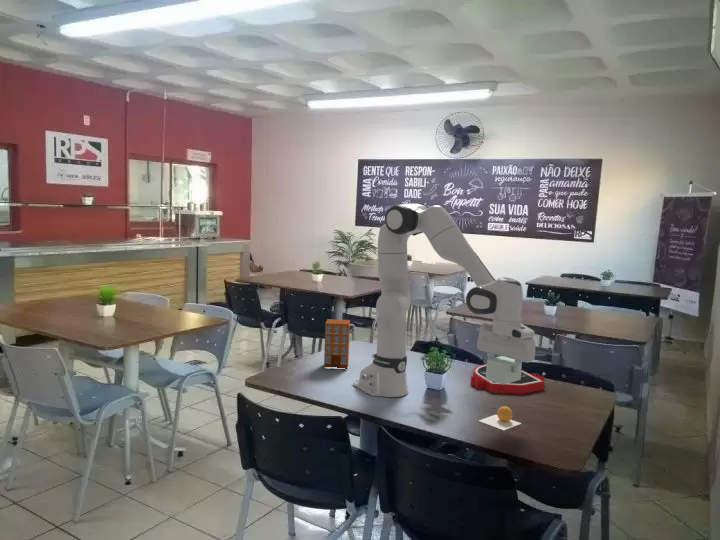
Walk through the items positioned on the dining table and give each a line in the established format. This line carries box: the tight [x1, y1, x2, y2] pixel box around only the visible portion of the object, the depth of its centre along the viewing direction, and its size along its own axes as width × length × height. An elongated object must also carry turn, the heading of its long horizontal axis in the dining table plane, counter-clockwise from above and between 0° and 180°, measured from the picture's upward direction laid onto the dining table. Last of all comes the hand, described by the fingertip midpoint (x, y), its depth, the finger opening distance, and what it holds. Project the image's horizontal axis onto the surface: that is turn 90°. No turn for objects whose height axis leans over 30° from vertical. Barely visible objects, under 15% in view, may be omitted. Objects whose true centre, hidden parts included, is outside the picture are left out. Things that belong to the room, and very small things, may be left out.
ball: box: [496, 405, 514, 422], centre depth 187 cm, size 5×5×5 cm
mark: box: [478, 414, 522, 432], centre depth 186 cm, size 10×10×1 cm
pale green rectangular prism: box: [486, 355, 523, 385], centre depth 184 cm, size 7×10×7 cm
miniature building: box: [323, 318, 351, 370], centre depth 242 cm, size 10×9×20 cm
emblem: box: [470, 363, 545, 395], centre depth 231 cm, size 30×4×30 cm
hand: (503, 369), depth 184 cm, fingers closed on pale green rectangular prism, 7 cm apart
